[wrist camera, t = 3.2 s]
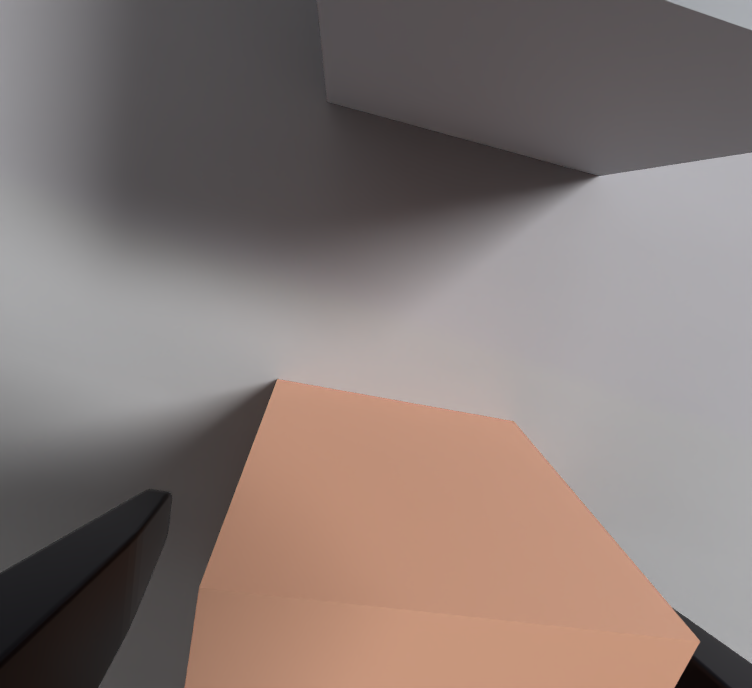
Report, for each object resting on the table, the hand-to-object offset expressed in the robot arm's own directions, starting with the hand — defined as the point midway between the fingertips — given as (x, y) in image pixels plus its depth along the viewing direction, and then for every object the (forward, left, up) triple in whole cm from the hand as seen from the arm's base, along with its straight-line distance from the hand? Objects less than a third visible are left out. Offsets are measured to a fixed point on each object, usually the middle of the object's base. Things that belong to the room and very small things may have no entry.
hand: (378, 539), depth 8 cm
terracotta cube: (0, 0, -1) cm, 1 cm away
